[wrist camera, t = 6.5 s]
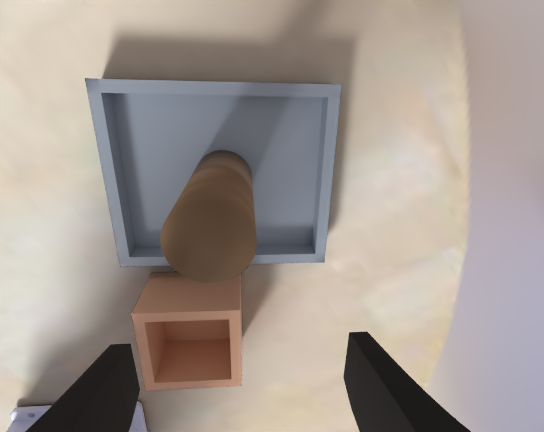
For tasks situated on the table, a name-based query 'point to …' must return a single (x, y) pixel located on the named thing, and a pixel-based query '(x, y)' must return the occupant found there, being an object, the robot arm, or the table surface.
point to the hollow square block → (189, 332)
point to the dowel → (213, 221)
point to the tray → (212, 137)
